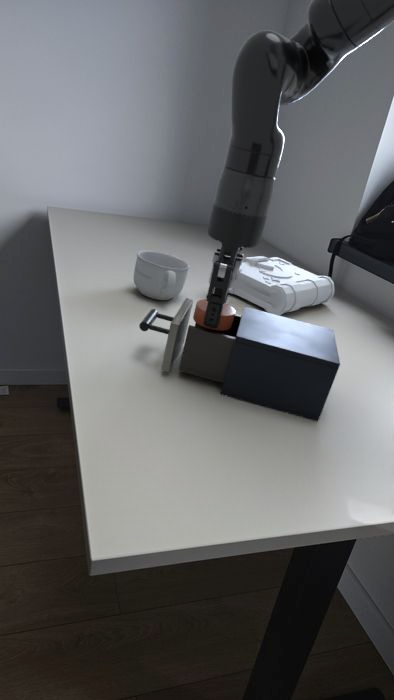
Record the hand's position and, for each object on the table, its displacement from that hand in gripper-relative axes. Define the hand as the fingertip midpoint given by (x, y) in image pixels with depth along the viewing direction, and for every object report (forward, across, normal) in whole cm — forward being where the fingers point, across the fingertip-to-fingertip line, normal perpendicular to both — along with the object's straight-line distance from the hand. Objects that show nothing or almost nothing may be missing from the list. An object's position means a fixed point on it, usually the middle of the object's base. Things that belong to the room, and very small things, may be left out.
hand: (213, 318), depth 74 cm
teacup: (+9, +25, +14) cm, 30 cm away
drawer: (+8, 0, +1) cm, 8 cm away
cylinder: (+1, 0, 0) cm, 1 cm away
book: (+9, +47, -11) cm, 49 cm away
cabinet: (+9, 0, -11) cm, 14 cm away
